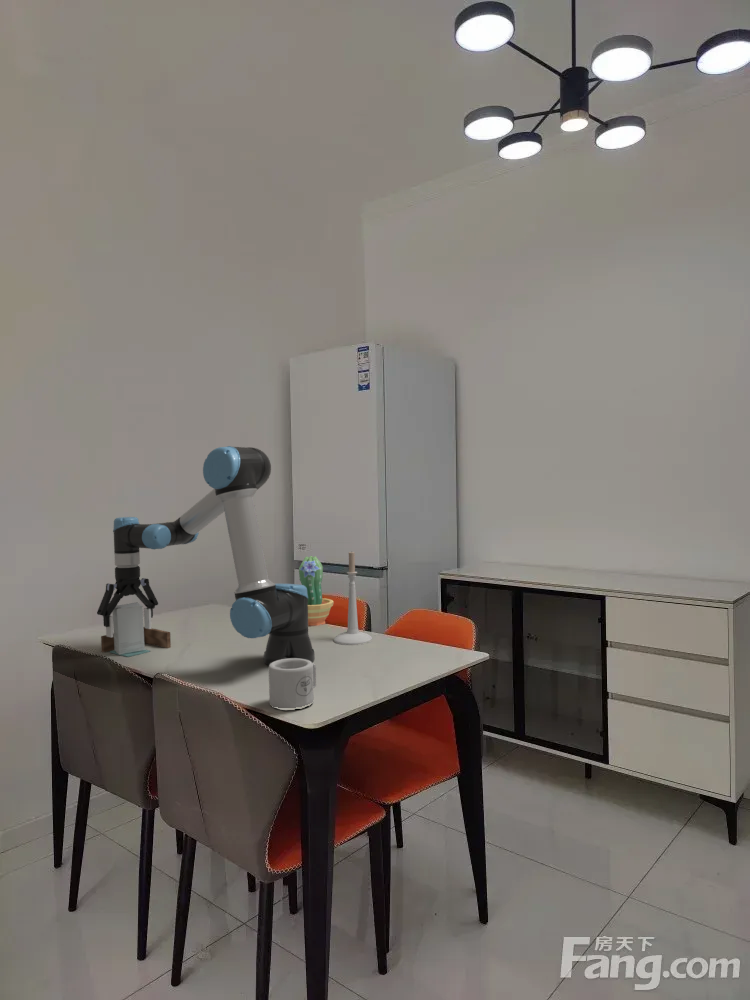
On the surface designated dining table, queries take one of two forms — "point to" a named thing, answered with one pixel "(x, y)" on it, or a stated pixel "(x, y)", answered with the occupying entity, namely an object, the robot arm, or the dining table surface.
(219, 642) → the dining table surface
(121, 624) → the skincare box
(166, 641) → the wooden corner bracket
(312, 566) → the potted cactus
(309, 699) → the mug
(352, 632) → the candlestick
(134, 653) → the pad
